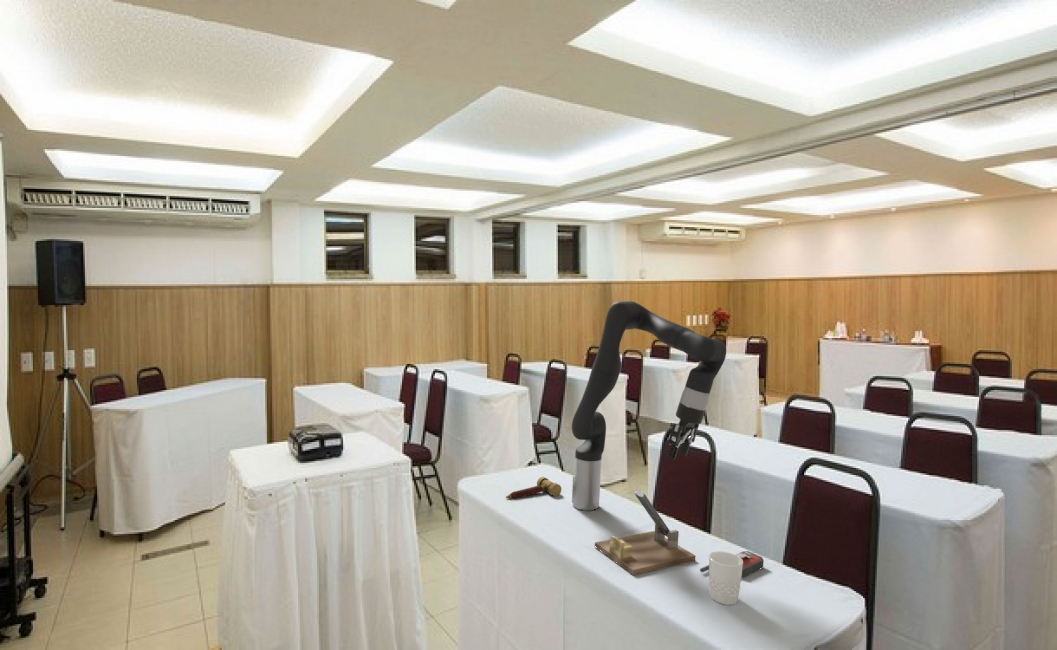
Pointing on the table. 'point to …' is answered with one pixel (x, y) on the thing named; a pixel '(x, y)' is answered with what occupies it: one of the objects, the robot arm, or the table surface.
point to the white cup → (725, 577)
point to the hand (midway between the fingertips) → (676, 457)
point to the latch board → (646, 551)
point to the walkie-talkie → (746, 563)
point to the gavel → (538, 489)
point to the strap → (652, 512)
